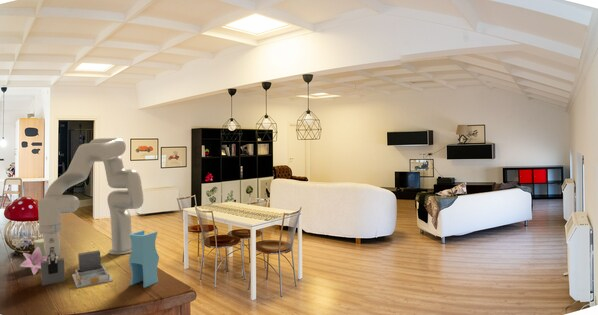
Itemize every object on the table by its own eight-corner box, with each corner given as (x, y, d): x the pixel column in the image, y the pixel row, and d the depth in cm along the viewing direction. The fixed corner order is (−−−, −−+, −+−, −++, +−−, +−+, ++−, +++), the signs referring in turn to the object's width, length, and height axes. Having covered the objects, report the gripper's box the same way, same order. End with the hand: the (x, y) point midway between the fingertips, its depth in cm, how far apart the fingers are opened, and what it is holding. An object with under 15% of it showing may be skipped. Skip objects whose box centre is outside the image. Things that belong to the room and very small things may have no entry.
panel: (64, 279, 169) (63, 257, 169) (65, 281, 167) (63, 259, 166) (41, 283, 165) (40, 261, 164) (42, 285, 162) (40, 263, 162)
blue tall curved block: (160, 280, 164) (157, 231, 163) (145, 287, 157) (142, 236, 156) (145, 278, 167) (143, 230, 166) (130, 285, 160) (127, 234, 159)
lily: (15, 280, 173) (23, 261, 171) (14, 263, 181) (22, 245, 180) (46, 281, 180) (54, 263, 179) (45, 265, 189) (52, 248, 188)
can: (47, 267, 186) (46, 241, 185) (30, 266, 187) (28, 241, 187) (63, 261, 195) (61, 236, 194) (46, 260, 196) (45, 236, 196)
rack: (105, 269, 180) (104, 248, 180) (112, 280, 165) (111, 257, 165) (72, 275, 173) (70, 253, 173) (76, 288, 158) (75, 263, 158)
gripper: (62, 230, 160) (64, 273, 160) (59, 223, 174) (61, 263, 175) (40, 233, 155) (42, 277, 156) (38, 226, 170) (40, 266, 171)
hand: (52, 270), depth 165 cm, fingers open, 9 cm apart
